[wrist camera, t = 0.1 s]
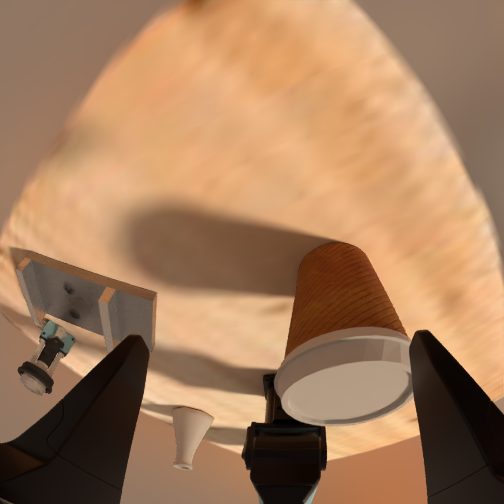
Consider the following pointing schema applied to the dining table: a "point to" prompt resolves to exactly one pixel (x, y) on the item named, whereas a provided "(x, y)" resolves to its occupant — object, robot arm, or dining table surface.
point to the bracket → (87, 300)
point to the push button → (45, 358)
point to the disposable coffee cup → (343, 343)
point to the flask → (189, 434)
